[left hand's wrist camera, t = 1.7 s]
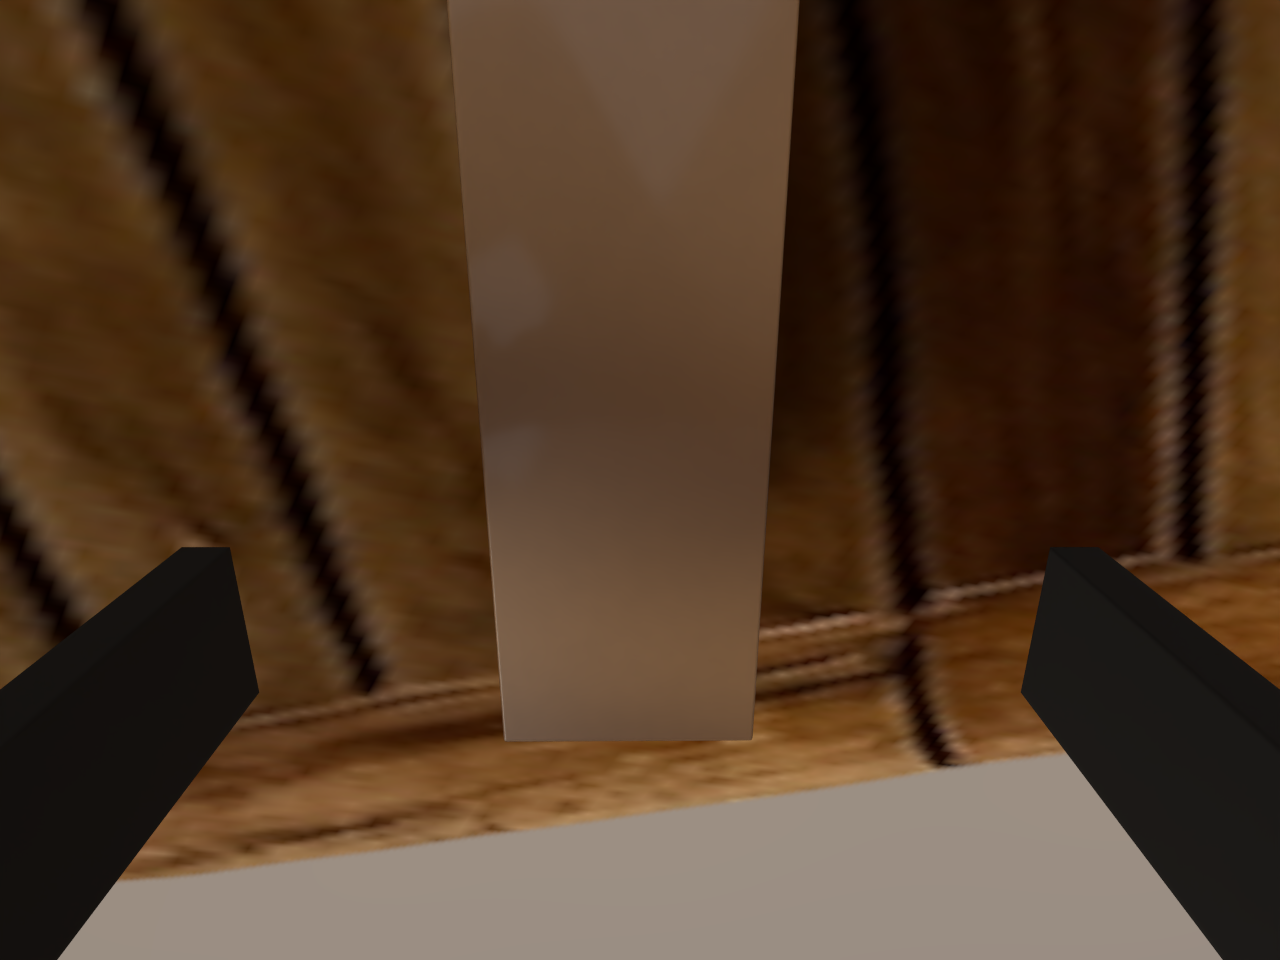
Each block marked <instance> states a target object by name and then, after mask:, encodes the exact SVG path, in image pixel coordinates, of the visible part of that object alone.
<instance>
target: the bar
mask: <svg viewBox="0 0 1280 960" xmlns="http://www.w3.org/2000/svg"><path fill="white" fill-rule="evenodd" d="M799 2H800V0H447V11H448V24H449V37H450V50H451V63H452V75H453V88H454V101H455V114H456V127H457V140H458V153H459V166H460V179H461V191H462V204H463V217H464V230H465V243H466V256H467V269H468V282H469V294H470V307H471V320H472V333H473V346H474V359H475V372H476V385H477V398H478V410H479V423H480V436H481V449H482V462H483V475H484V488H485V501H486V513H487V526H488V539H489V552H490V565H491V578H492V591H493V604H494V617H495V629H496V642H497V655H498V668H499V681H500V694H501V707H502V720H503V733H504V740H505V741H697V740H752V736H753V721H754V705H755V689H756V674H757V658H758V642H759V627H760V611H761V596H762V580H763V564H764V549H765V533H766V518H767V502H768V486H769V471H770V455H771V439H772V424H773V408H774V393H775V377H776V361H777V346H778V330H779V315H780V299H781V283H782V268H783V252H784V236H785V221H786V205H787V190H788V174H789V158H790V143H791V127H792V112H793V96H794V80H795V65H796V49H797V33H798V18H799Z"/></svg>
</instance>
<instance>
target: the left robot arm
mask: <svg viewBox="0 0 1280 960" xmlns="http://www.w3.org/2000/svg"><path fill="white" fill-rule="evenodd" d="M258 693H259V689H258V684H257V679H256V675H255V670H254V665H253V660H252V655H251V650H250V645H249V640H248V635H247V630H246V625H245V620H244V615H243V611H242V606H241V601H240V596H239V591H238V586H237V581H236V576H235V571H234V566H233V561H232V556H231V551H230V547H182V548H180V549H179V550H178V551H176V552H175V553H174V554H173V555H171V556H170V557H169V558H168V559H166V560H165V561H164V562H162V563H161V564H160V565H159V566H157V567H156V568H155V569H154V570H152V571H151V572H150V573H148V574H147V575H146V576H145V577H143V578H142V579H141V580H139V581H138V582H137V583H136V584H134V585H133V586H132V587H131V588H129V589H128V590H127V591H125V592H124V593H123V594H122V595H120V596H119V597H118V598H117V599H115V600H114V601H113V602H111V603H110V604H109V605H108V606H106V607H105V608H104V609H102V610H101V611H100V612H99V613H97V614H96V615H95V616H94V617H92V618H91V619H90V620H88V621H87V622H86V623H85V624H83V625H82V626H81V627H80V628H78V629H77V630H76V631H74V632H73V633H72V634H71V635H69V636H68V637H67V638H66V639H64V640H63V641H62V642H60V643H59V644H58V645H57V646H55V647H54V648H53V649H51V650H50V651H49V652H48V653H46V654H45V655H44V656H43V657H41V658H40V659H39V660H37V661H36V662H35V663H34V664H32V665H31V666H30V667H29V668H27V669H26V670H25V671H23V672H22V673H21V674H20V675H18V676H17V677H16V678H14V679H13V680H12V681H11V682H9V683H8V684H7V685H6V686H4V687H3V688H2V689H0V960H57V959H58V958H59V957H60V955H61V954H62V953H63V951H64V950H65V949H66V947H67V946H68V945H69V943H70V942H71V941H72V939H73V938H74V937H75V935H76V934H77V933H78V931H79V930H80V929H81V928H82V926H83V925H84V924H85V922H86V921H87V920H88V918H89V917H90V916H91V914H92V913H93V912H94V910H95V909H96V908H97V906H98V905H99V904H100V902H101V901H102V900H103V898H104V897H105V896H106V894H107V893H108V892H109V890H110V889H111V888H112V886H113V885H114V884H115V883H116V881H117V880H118V879H119V877H120V876H121V875H122V873H123V872H124V871H125V869H126V868H127V867H128V865H129V864H130V863H131V861H132V860H133V859H134V857H135V856H136V855H137V853H138V852H139V851H140V849H141V848H142V847H143V845H144V844H145V843H146V841H147V840H148V839H149V838H150V836H151V835H152V834H153V832H154V831H155V830H156V828H157V827H158V826H159V824H160V823H161V822H162V820H163V819H164V818H165V816H166V815H167V814H168V812H169V811H170V810H171V808H172V807H173V806H174V804H175V803H176V802H177V800H178V799H179V798H180V796H181V795H182V794H183V793H184V791H185V790H186V789H187V787H188V786H189V785H190V783H191V782H192V781H193V779H194V778H195V777H196V775H197V774H198V773H199V771H200V770H201V769H202V767H203V766H204V765H205V763H206V762H207V761H208V759H209V758H210V757H211V755H212V754H213V753H214V751H215V750H216V749H217V747H218V746H219V745H220V744H221V742H222V741H223V740H224V738H225V737H226V736H227V734H228V733H229V732H230V730H231V729H232V728H233V726H234V725H235V724H236V722H237V721H238V720H239V718H240V717H241V716H242V714H243V713H244V712H245V710H246V709H247V708H248V706H249V705H250V704H251V702H252V701H253V700H254V699H255V697H256V696H257V695H258ZM1021 693H1022V695H1023V696H1024V697H1025V699H1026V700H1027V701H1028V702H1029V704H1030V705H1031V706H1032V708H1033V709H1034V710H1035V712H1036V713H1037V714H1038V716H1039V717H1040V718H1041V720H1042V721H1043V722H1044V724H1045V725H1046V726H1047V728H1048V729H1049V730H1050V732H1051V733H1052V734H1053V736H1054V737H1055V738H1056V740H1057V741H1058V742H1059V744H1060V745H1061V746H1062V747H1063V749H1064V750H1065V751H1066V753H1067V754H1068V755H1069V757H1070V758H1071V759H1072V761H1073V762H1074V763H1075V765H1076V766H1077V767H1078V769H1079V770H1080V771H1081V773H1082V774H1083V775H1084V777H1085V778H1086V779H1087V781H1088V782H1089V783H1090V785H1091V786H1092V787H1093V789H1094V790H1095V791H1096V792H1097V794H1098V795H1099V796H1100V798H1101V799H1102V800H1103V802H1104V803H1105V804H1106V806H1107V807H1108V808H1109V810H1110V811H1111V812H1112V814H1113V815H1114V816H1115V818H1116V819H1117V820H1118V822H1119V823H1120V824H1121V826H1122V827H1123V828H1124V830H1125V831H1126V832H1127V834H1128V835H1129V836H1130V838H1131V839H1132V840H1133V841H1134V843H1135V844H1136V845H1137V847H1138V848H1139V849H1140V851H1141V852H1142V853H1143V855H1144V856H1145V857H1146V859H1147V860H1148V861H1149V863H1150V864H1151V865H1152V867H1153V868H1154V869H1155V871H1156V872H1157V873H1158V875H1159V876H1160V877H1161V879H1162V880H1163V881H1164V883H1165V884H1166V885H1167V886H1168V888H1169V889H1170V890H1171V892H1172V893H1173V894H1174V896H1175V897H1176V898H1177V900H1178V901H1179V902H1180V904H1181V905H1182V906H1183V908H1184V909H1185V910H1186V912H1187V913H1188V914H1189V916H1190V917H1191V918H1192V920H1193V921H1194V922H1195V924H1196V925H1197V926H1198V927H1199V929H1200V930H1201V931H1202V933H1203V934H1204V935H1205V937H1206V938H1207V939H1208V941H1209V942H1210V943H1211V945H1212V946H1213V947H1214V949H1215V950H1216V951H1217V953H1218V954H1219V955H1220V957H1221V958H1222V959H1223V960H1280V689H1278V688H1277V687H1276V686H1274V685H1273V684H1272V683H1271V682H1269V681H1268V680H1267V679H1266V678H1264V677H1263V676H1262V675H1260V674H1259V673H1258V672H1257V671H1255V670H1254V669H1253V668H1251V667H1250V666H1249V665H1248V664H1246V663H1245V662H1244V661H1243V660H1241V659H1240V658H1239V657H1237V656H1236V655H1235V654H1234V653H1232V652H1231V651H1230V650H1229V649H1227V648H1226V647H1225V646H1223V645H1222V644H1221V643H1220V642H1218V641H1217V640H1216V639H1214V638H1213V637H1212V636H1211V635H1209V634H1208V633H1207V632H1206V631H1204V630H1203V629H1202V628H1200V627H1199V626H1198V625H1197V624H1195V623H1194V622H1193V621H1192V620H1190V619H1189V618H1188V617H1186V616H1185V615H1184V614H1183V613H1181V612H1180V611H1179V610H1178V609H1176V608H1175V607H1174V606H1172V605H1171V604H1170V603H1169V602H1167V601H1166V600H1165V599H1163V598H1162V597H1161V596H1160V595H1158V594H1157V593H1156V592H1155V591H1153V590H1152V589H1151V588H1149V587H1148V586H1147V585H1146V584H1144V583H1143V582H1142V581H1141V580H1139V579H1138V578H1137V577H1135V576H1134V575H1133V574H1132V573H1130V572H1129V571H1128V570H1126V569H1125V568H1124V567H1123V566H1121V565H1120V564H1119V563H1118V562H1116V561H1115V560H1114V559H1112V558H1111V557H1110V556H1109V555H1107V554H1106V553H1105V552H1104V551H1102V550H1101V549H1100V548H1098V547H1050V551H1049V556H1048V561H1047V566H1046V571H1045V576H1044V581H1043V586H1042V591H1041V596H1040V601H1039V606H1038V611H1037V615H1036V620H1035V625H1034V630H1033V635H1032V640H1031V645H1030V650H1029V655H1028V660H1027V665H1026V670H1025V675H1024V679H1023V684H1022V689H1021Z"/></svg>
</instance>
